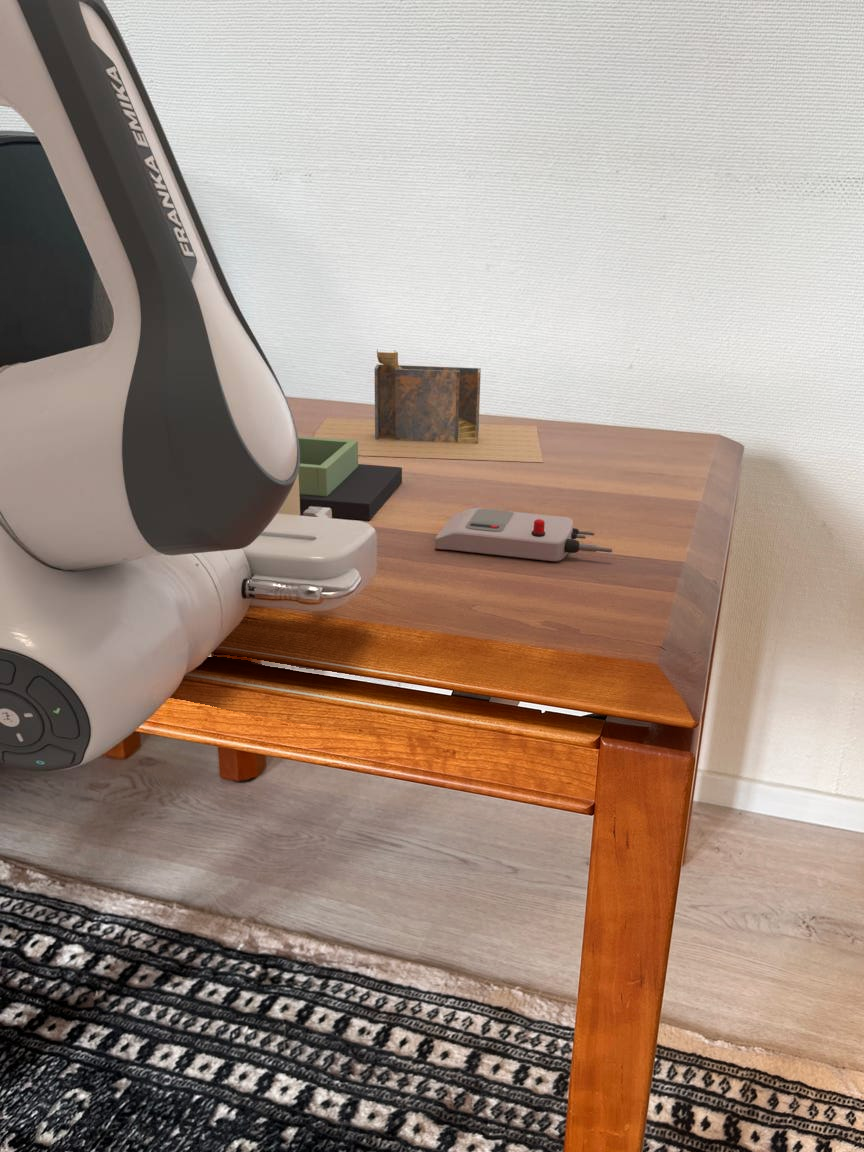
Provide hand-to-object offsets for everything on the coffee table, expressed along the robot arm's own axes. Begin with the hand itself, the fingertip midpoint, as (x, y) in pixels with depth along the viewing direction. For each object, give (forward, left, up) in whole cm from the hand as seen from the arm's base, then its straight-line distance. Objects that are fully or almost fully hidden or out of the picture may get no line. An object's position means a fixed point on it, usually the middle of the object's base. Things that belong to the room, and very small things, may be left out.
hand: (256, 511), depth 70 cm
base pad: (+3, +22, -5) cm, 23 cm away
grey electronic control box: (+20, +7, -6) cm, 22 cm away
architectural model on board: (+17, +42, -6) cm, 46 cm away
